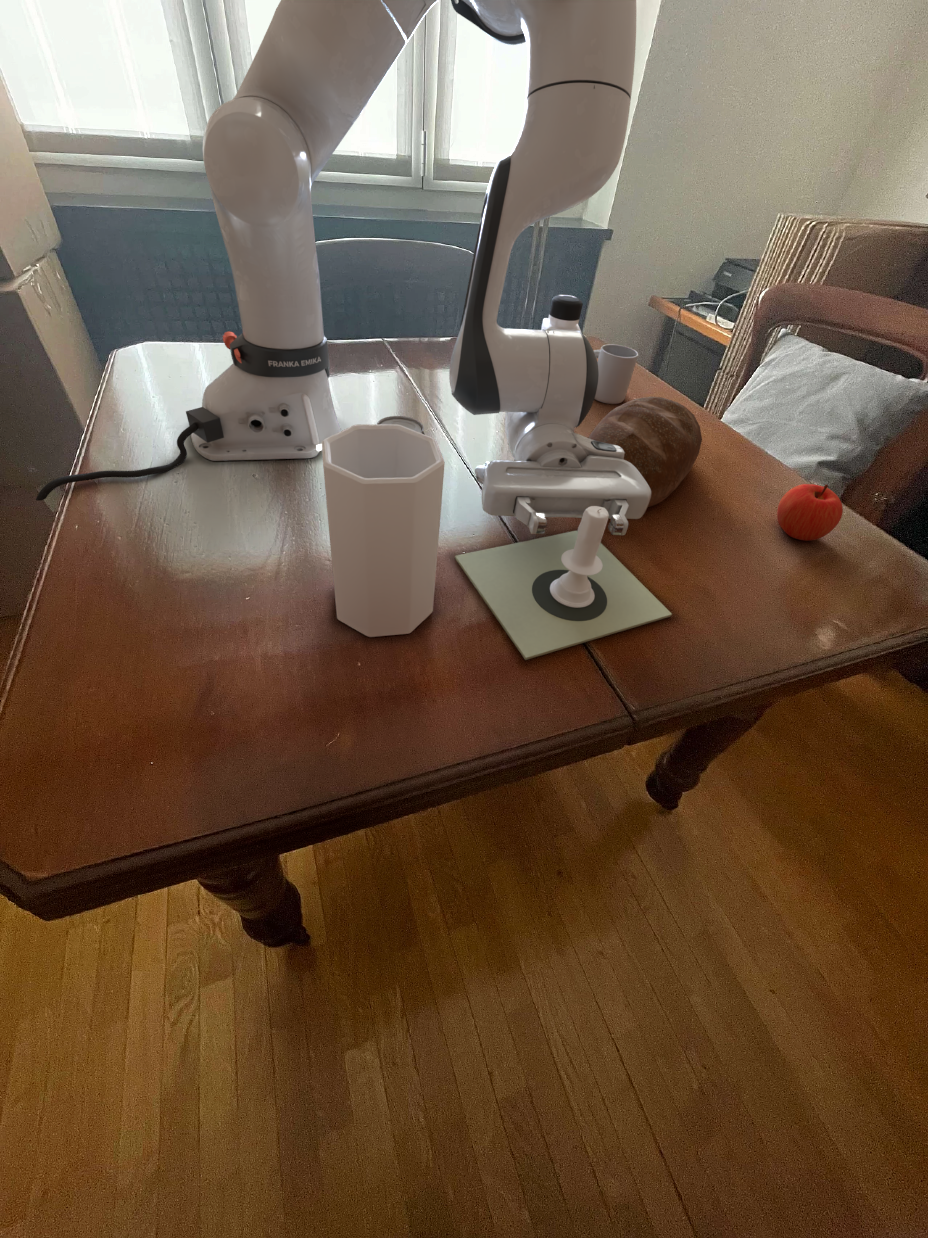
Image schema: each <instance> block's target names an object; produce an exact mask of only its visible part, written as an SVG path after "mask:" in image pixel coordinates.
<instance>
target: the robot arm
mask: <svg viewBox="0 0 928 1238" xmlns="http://www.w3.org/2000/svg"><path fill="white" fill-rule="evenodd" d="M439 1H440V0H279V3H278V5H277V7H276V9H275V11H274V13H273V16H272V17H271V21H270V22H269V25H268V28H267V30H266V32H265V34H264V35H263V38H262V40H261V43H260V44H259V47H258V49H257V51H256V53H255V55H254V57H253V60H252V61H251V64H250V66H249V67H248V70H247V72H246V74H245V76H244V78H243V80H242V82H241V83H240V86H239V88H238V90H237V91H236V93H235V96H234V97H233V98H232V99H231V100H228V101H226V102H224V103H222V104H221V105H219V106H218V107H217V108H216V109H215V110H214V111H213V113H211V115H210V117H209V118H208V121H207V123H206V124H205V128H204V133H203V137H202V159H203V166H204V170H205V174H206V177H207V181H208V184H209V185H208V186H209V189H210V192H211V198H212V202H213V206H214V210H215V213H216V214H215V215H216V218H217V221H218V222H217V223H218V227H219V230H220V234H221V236H222V240H223V243H224V244H223V245H224V247H225V250H226V254H227V257H228V261H229V264H230V269H231V273H232V279H233V283H234V284H233V285H234V289H235V295H236V300H237V306H238V312H239V319H240V324H241V330H242V333H240V334H239V335H238V336H237V334H235V332H233V331H225V332H224V333H223V335H222V341H223V343H224V345H225V347H226V348H227V349H228V350H229V351H230V356H231V359H232V360H231V361H232V364H231V365H229V366H228V367H227V368H226V369H225V370H224V371H223V372H222V373H221V374H219V376H217V377H216V378H215V379H214V380H212V381H211V382H210V383H209V384H208V385H207V386H206V387H205V389H204V391H203V393H202V398H201V399H202V400H201V407H200V406H199V407H197V408H193V409H189V410H186V411H185V414H186V419H187V422H188V426H187V427H186V428H185V429H183V431H181V432H180V434H179V435H178V436H177V439H176V445H177V448H178V450H179V455H178V456H177V457H176V458H175V459H174V460H173V461H172V462H170V463H167V464H164V465H163V464H162V465H159V466H152V467H148V468H143V469H142V468H141V469H135V470H98V471H92V472H85V473H77V474H69V475H64V476H60V477H57V478H55V479H53V480H51V481H49V482H48V483H47V484H45V485H43V487H42V488H41V489H40V490H39V492H38V494H37V496H36V498H35V501H44V500H46V499H47V498H48V496H49V495H50V494H51V493H52V492H53V491H54V490H55V489H57V488H59V487H60V486H63V485H67V484H71V483H78V482H85V481H92V480H97V479H104V478H106V479H108V478H125V479H126V478H128V479H129V478H141V477H147V476H152V475H157V474H162V473H166V472H168V471H171V470H173V469H175V468H177V467H178V466H180V465H181V464H183V463H184V462H185V460H186V459H187V457H188V450H187V448H186V446H185V442H186V440H187V438H189V437H190V439H191V443H192V445H193V447H194V449H195V450H196V452H197V453H198V454H199V455H200V456H201V457H203V458H205V459H207V460H209V461H215V462H216V461H219V462H220V461H222V462H223V461H254V460H257V461H258V460H286V459H287V460H289V459H291V460H293V459H294V460H295V459H312V458H315V457H317V456H318V455H319V454H320V452H322V441H323V440H324V439H326V438H328V437H330V436H332V435H334V434H336V433H338V432H340V431H342V427H341V424H340V421H339V418H338V415H337V413H336V409H335V405H334V401H333V397H332V392H331V386H330V380H329V378H330V370H331V361H330V359H331V358H330V348H329V343H328V338H327V337H326V336H325V333H324V321H323V305H322V293H321V292H322V291H321V278H320V270H319V263H318V261H319V260H318V253H317V244H316V235H315V225H314V213H313V204H312V191H311V190H312V185H313V184H314V182H315V181H316V179H317V178H318V176H319V175H320V173H321V172H322V170H323V169H324V167H325V166H326V164H327V162H329V160H330V159H331V157H332V155H333V154H334V152H335V151H336V150H337V148H338V146H339V145H340V144H341V142H342V141H343V140H344V138H345V137H346V135H347V134H348V133H349V131H350V130H351V128H352V127H353V125H354V124H355V122H356V121H357V120H358V118H359V117H360V115H361V114H362V113H363V111H364V110H365V108H366V107H367V105H368V103H369V102H370V101H371V99H372V97H373V96H374V94H375V93H376V91H377V90H378V88H379V86H380V85H381V84H382V82H383V81H384V79H385V77H386V76H387V74H388V73H389V71H390V70H391V69H392V67H393V65H394V63H395V62H396V61H397V60H398V57H399V56H400V54H401V53H402V51H403V50H404V48H405V47H406V45H407V43H408V42H409V41H410V39H411V38H412V36H413V35H414V33H415V31H416V29H417V28H418V26H419V25H420V23H421V21H422V20H423V19H424V17H425V16H426V15H427V13H428V12H429V10H430V9H431V8H432V7H433V6H434V5H435V4H436V3H437V2H439ZM450 2H451V6H452V8H453V10H454V11H455V12H456V14H458V15H460V16H461V17H463V18H464V19H466V20H467V21H469V22H470V23H471V24H473V25H475V26H476V27H477V28H479V29H480V30H481V31H482V32H484V33H485V34H486V35H487V36H488V37H490V38H491V39H493V40H495V41H496V42H499V43H501V44H504V45H509V46H517V45H521V44H522V45H523V44H524V43H526V47H527V72H526V87H525V99H524V112H523V118H522V123H521V127H520V131H519V134H518V137H517V140H516V142H515V144H514V146H513V148H512V150H511V152H510V153H509V154H508V155H507V156H505V157H503V158H501V159H500V160H498V161H497V162H496V164H495V166H494V168H493V170H492V173H491V176H490V178H489V182H488V185H487V187H486V188H487V189H486V192H485V196H484V200H483V205H482V208H481V209H482V210H481V215H480V218H479V225H478V229H477V234H476V238H475V245H474V249H473V255H472V256H473V257H472V262H471V265H470V272H469V277H468V283H467V288H466V294H465V298H464V300H465V301H464V305H463V309H462V310H463V312H462V315H461V321H460V325H459V330H458V333H457V334H458V335H457V337H456V340H455V344H454V347H453V350H452V352H451V358H450V362H449V371H448V377H449V378H448V380H449V386H450V391H451V393H450V394H451V396H452V397H453V398H454V400H455V401H456V402H457V403H458V404H459V405H460V406H461V407H463V408H464V409H465V410H466V411H467V412H469V413H470V414H471V415H473V416H480V415H492V414H499V413H504V432H505V438H506V442H507V446H508V449H509V452H510V454H511V457H512V458H513V459H512V460H508V459H507V460H506V459H496V460H495V459H494V460H490V461H486V462H485V463H484V464H481V465H477V466H475V469H474V475H475V480H476V481H477V482H478V483H479V484H480V485H482V487H481V507H482V510H483V511H484V512H485V513H486V514H487V515H490V516H493V517H515V519H516V520H518V521H519V522H521V523H522V524H524V525H526V526H527V527H528V529H529V532H530V534H533V535H534V534H535V535H536V534H537V535H540V534H541V535H544V534H545V533H546V528H547V525H548V521H547V518H571V519H573V518H574V519H576V518H577V519H578V518H579V519H582V517H583V513H584V511H585V510H586V509H587V508H588V507H590V506H599V507H603V508H605V509H606V510H607V511H608V514H609V517H608V519H610V521H609V523H608V525H607V530H608V531H609V532H610V535H612V536H625V535H626V533H627V530H628V528H629V521H628V520H639V519H641V518H642V517H643V516H644V514H645V513H646V511H647V509H648V508H649V507H648V504H649V502H650V498H651V489H650V487H649V485H648V484H647V482H646V481H645V479H644V478H643V476H642V475H641V474H640V472H639V471H638V470H637V468H636V467H635V466H634V465H632V464H631V463H630V462H628V461H626V460H623V459H624V454H625V452H624V450H623V449H622V448H621V447H619V446H617V445H612V444H608V443H603V442H599V441H595V440H592V439H589V438H588V437H587V436H585V435H582V434H581V433H578V432H575V429H576V428H578V427H579V426H580V425H581V424H582V423H583V421H584V420H585V418H586V417H587V416H588V414H589V412H590V411H591V409H592V406H593V403H594V401H595V399H594V398H595V395H596V391H597V386H598V377H599V371H598V363H597V362H598V358H597V359H596V356H595V353H594V349H593V347H592V345H591V343H590V341H589V340H588V338H587V337H586V336H585V335H584V334H583V332H582V331H581V332H582V333H581V332H580V331H568V330H548V329H543V330H541V329H524V328H505V327H501V326H500V325H499V324H498V322H497V321H498V316H499V310H500V307H501V306H500V305H501V300H502V297H503V290H504V287H505V281H506V276H507V271H508V267H509V262H510V257H511V253H512V250H513V247H514V244H515V243H516V241H517V239H518V237H519V236H520V235H521V234H522V233H523V232H525V230H526V229H528V228H530V226H531V227H532V226H533V225H535V224H536V223H538V222H540V221H543V220H545V219H547V218H550V217H553V216H555V215H557V214H560V213H563V212H565V211H568V210H570V209H572V208H574V207H576V206H578V205H580V204H582V203H584V202H586V201H587V200H589V199H590V198H592V197H593V196H594V195H596V194H597V193H598V192H599V191H600V190H601V189H602V188H603V187H604V186H605V185H606V184H607V183H608V181H609V180H610V179H611V178H612V176H613V174H614V173H615V170H616V168H617V167H618V165H619V163H620V160H621V156H622V153H623V149H624V145H625V140H626V135H627V131H628V123H629V117H630V108H631V100H632V92H633V84H634V83H633V82H634V75H635V73H634V72H635V64H636V63H635V62H636V46H637V0H450Z"/></svg>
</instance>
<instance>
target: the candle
mask: <svg viewBox="0 0 928 1238" xmlns="http://www.w3.org/2000/svg"><path fill="white" fill-rule="evenodd" d="M608 517H609V514H608V511H607V510H606V509H605V508H603V507H599V506H590V507H588V508H587V509H586V510H585V511H584V513H583V517H582V518H581V520H580V523H579V525H578V527H577V530H578V537H577V540H576V543H575V547H574V549H571V550H567V551H566V552H564V553H563V554H562V556H561V561H562V563H563V565H564V566H565V567H566V568H567V569H568V570H570V571H569V572H568V573H565V574H563V575H562V576H561V577H560V578H558V579H556V580H554V581H553V582H552V583H551V585H550V592H551V595H552V596H553V597H554V599H555V600H557V601H558V602H559V603H561V604H563V605H565V606H569V607H574V608H581V607H586V606H588V605H590V604H591V603H592V602H593V600H594V597H595V595H594V591H593V590H592V588H591V583H590V581H589V580H588V578H587V575H594V574H597V573H599V572H600V571H601V570H602V567H603V565H602V561H601V560H600V558H599V557H598V556H596V554H597V551H598V548H599V545H600V542H601V543H602V540H603V538H604V537H603V536H604V533H605V530H606V527H607V524H608V521H609V518H608Z"/></svg>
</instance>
